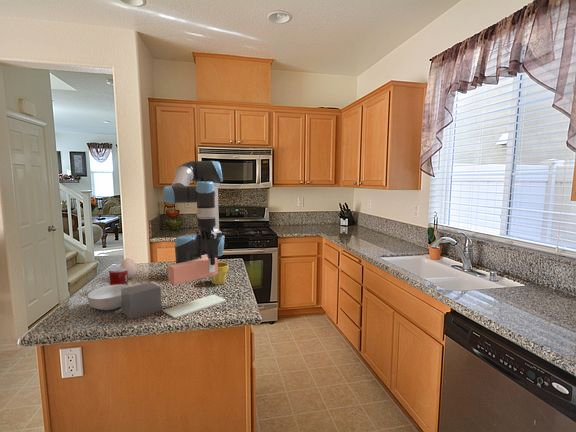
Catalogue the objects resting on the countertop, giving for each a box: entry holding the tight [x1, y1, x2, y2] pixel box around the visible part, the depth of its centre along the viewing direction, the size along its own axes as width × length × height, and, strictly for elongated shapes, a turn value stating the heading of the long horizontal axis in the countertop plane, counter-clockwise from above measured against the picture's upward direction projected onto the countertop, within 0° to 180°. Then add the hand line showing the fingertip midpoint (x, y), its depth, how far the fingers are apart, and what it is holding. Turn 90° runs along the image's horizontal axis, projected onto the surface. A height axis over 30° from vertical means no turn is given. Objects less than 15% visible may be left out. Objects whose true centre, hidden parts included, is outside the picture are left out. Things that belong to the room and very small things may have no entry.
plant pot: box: [210, 261, 229, 286], centre depth 162 cm, size 10×10×10 cm
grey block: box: [121, 281, 164, 320], centre depth 127 cm, size 13×10×10 cm
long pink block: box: [167, 257, 219, 286], centre depth 130 cm, size 20×5×7 cm, turn 136°
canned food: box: [108, 266, 129, 286], centre depth 150 cm, size 8×8×11 cm
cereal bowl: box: [86, 284, 133, 311], centre depth 132 cm, size 17×17×7 cm
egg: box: [119, 257, 137, 280], centre depth 169 cm, size 8×8×11 cm
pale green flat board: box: [162, 294, 227, 319], centre depth 132 cm, size 24×10×1 cm, turn 136°
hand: (208, 270), depth 135 cm, fingers closed on long pink block, 5 cm apart
